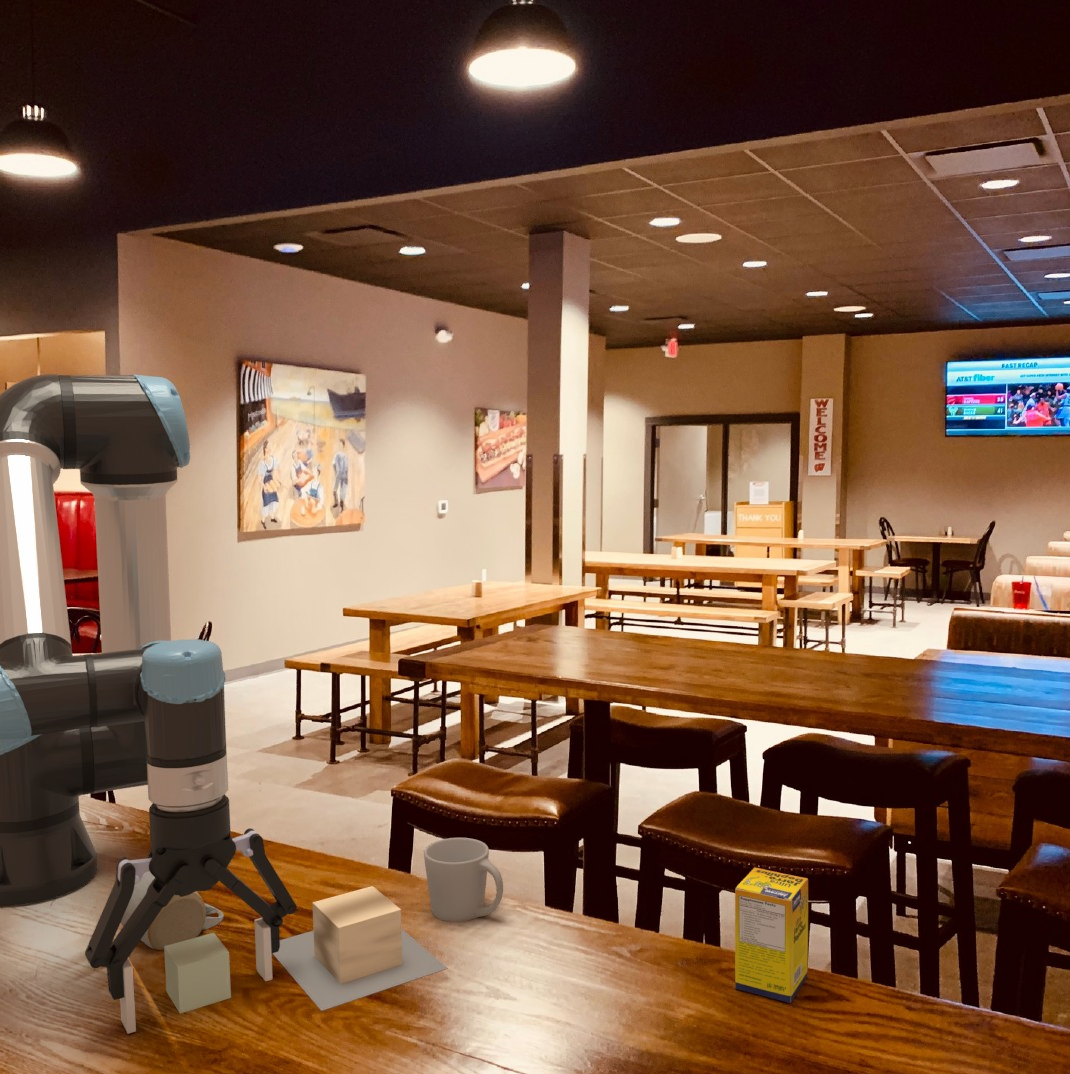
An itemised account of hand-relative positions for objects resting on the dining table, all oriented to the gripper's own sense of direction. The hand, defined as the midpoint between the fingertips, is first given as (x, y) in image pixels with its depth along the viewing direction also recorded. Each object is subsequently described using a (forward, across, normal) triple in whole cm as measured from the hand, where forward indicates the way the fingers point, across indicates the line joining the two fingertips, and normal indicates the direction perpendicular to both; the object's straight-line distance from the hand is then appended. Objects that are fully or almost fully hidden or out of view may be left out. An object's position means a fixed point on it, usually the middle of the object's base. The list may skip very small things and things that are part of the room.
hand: (199, 1004), depth 105 cm
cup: (0, +31, 0) cm, 31 cm away
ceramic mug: (0, +2, +16) cm, 16 cm away
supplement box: (0, +50, -30) cm, 58 cm away
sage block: (0, 0, 0) cm, 0 cm away
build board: (0, +16, -2) cm, 16 cm away
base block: (-1, +16, -3) cm, 16 cm away
